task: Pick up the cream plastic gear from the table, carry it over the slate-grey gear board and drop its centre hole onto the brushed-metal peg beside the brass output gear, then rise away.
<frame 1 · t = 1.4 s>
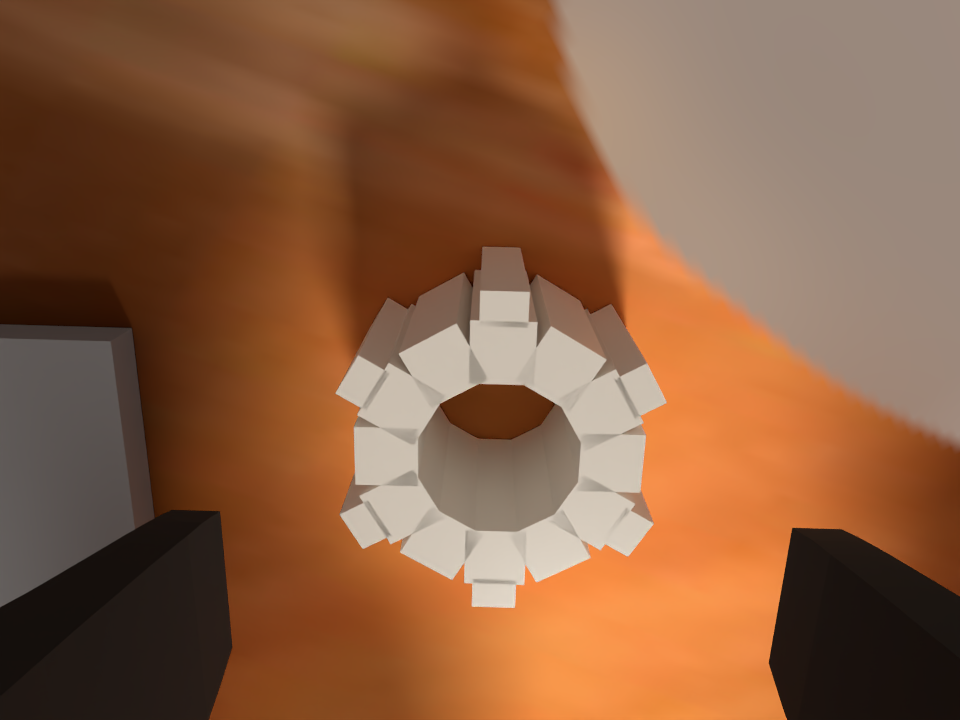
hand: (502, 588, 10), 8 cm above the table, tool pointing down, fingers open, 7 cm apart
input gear: (496, 381, 17), on the table
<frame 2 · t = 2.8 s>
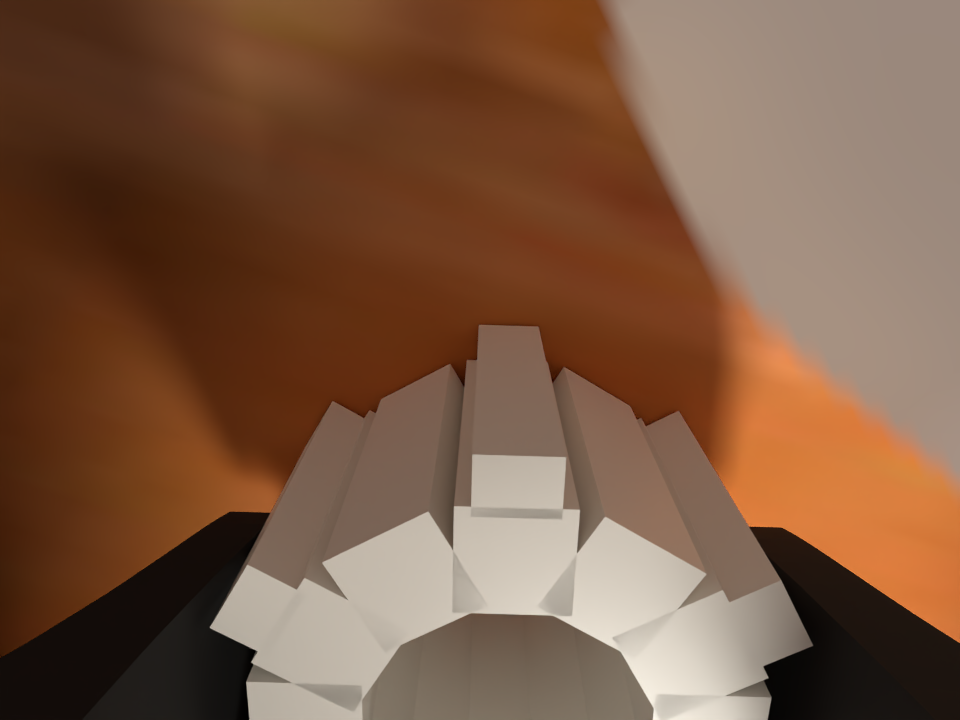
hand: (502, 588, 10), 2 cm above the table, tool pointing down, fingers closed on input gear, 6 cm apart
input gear: (500, 523, 11), on the table, touching gripper
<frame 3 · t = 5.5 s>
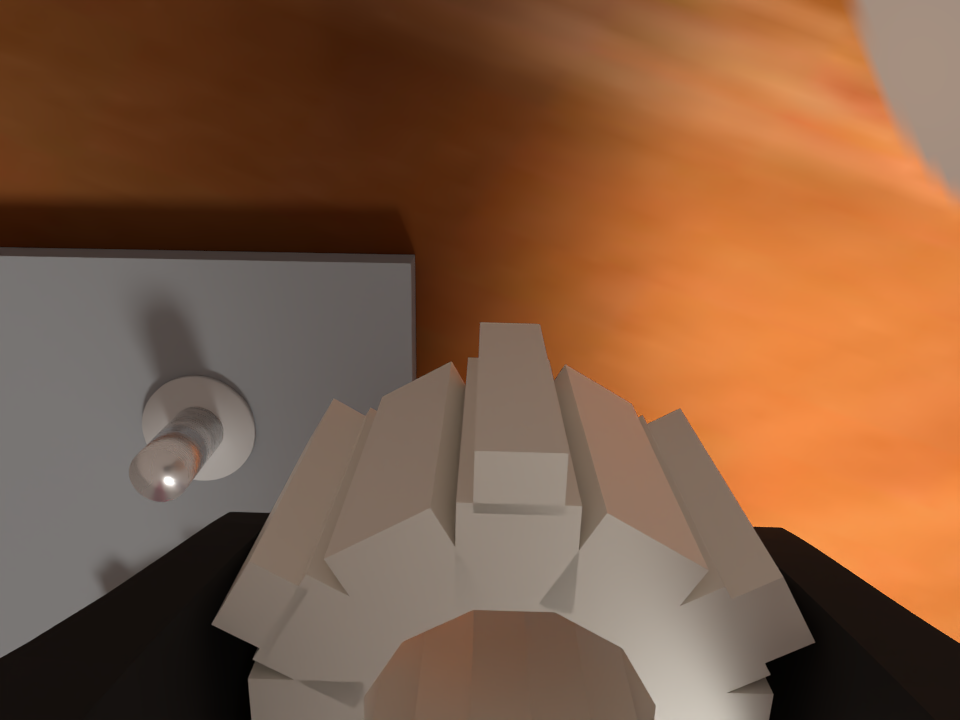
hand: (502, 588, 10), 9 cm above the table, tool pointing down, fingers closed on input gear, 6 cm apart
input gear: (502, 520, 11), point 8 cm above the table, touching gripper
gear board: (113, 532, 20), on the table
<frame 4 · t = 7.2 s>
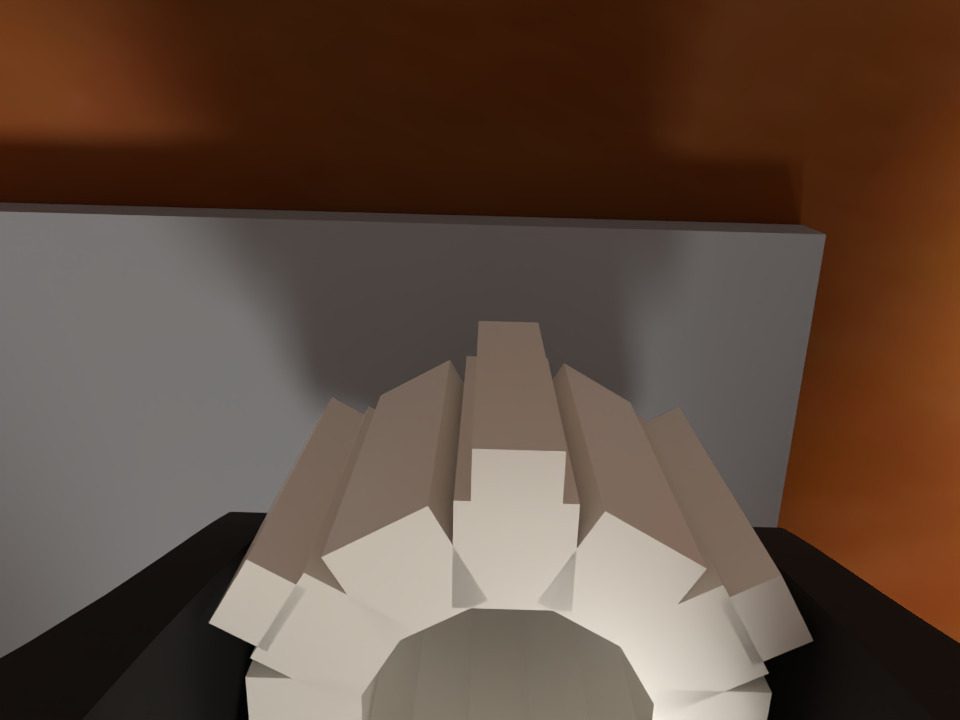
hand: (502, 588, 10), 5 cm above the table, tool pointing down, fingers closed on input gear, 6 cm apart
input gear: (500, 519, 11), point 3 cm above the table, touching gripper
gear board: (344, 588, 16), on the table
when the fingers open (4 cm above the table, at t = 8.4 s): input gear drops 2 cm, resting on gear board.
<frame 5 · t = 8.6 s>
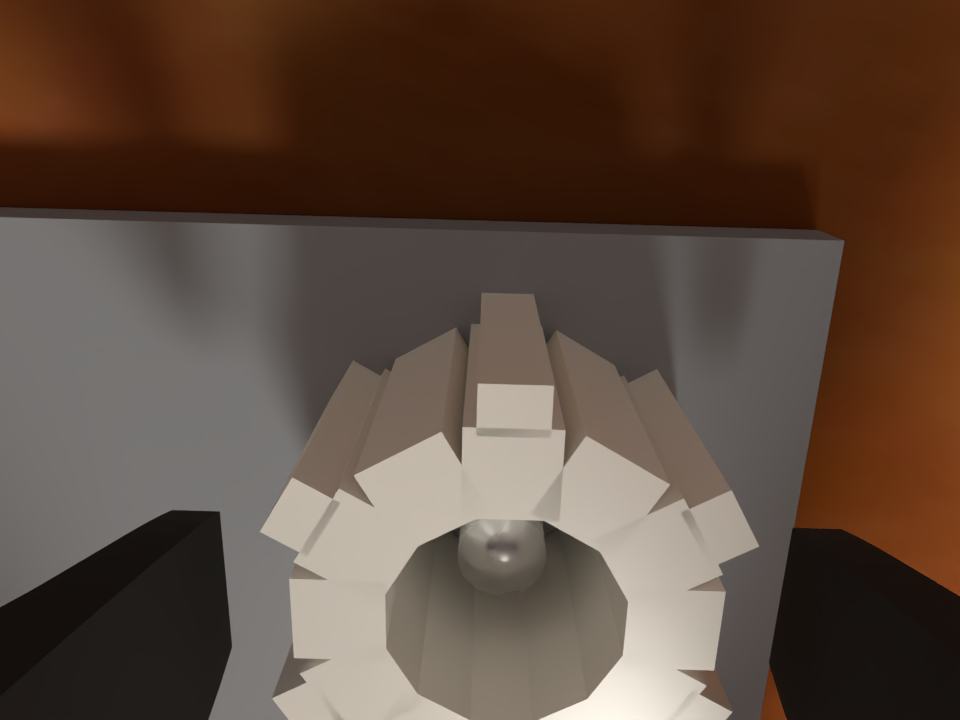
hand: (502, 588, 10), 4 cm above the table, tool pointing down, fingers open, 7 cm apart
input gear: (500, 470, 13), point 1 cm above the table, touching gear board
gear board: (337, 608, 15), on the table
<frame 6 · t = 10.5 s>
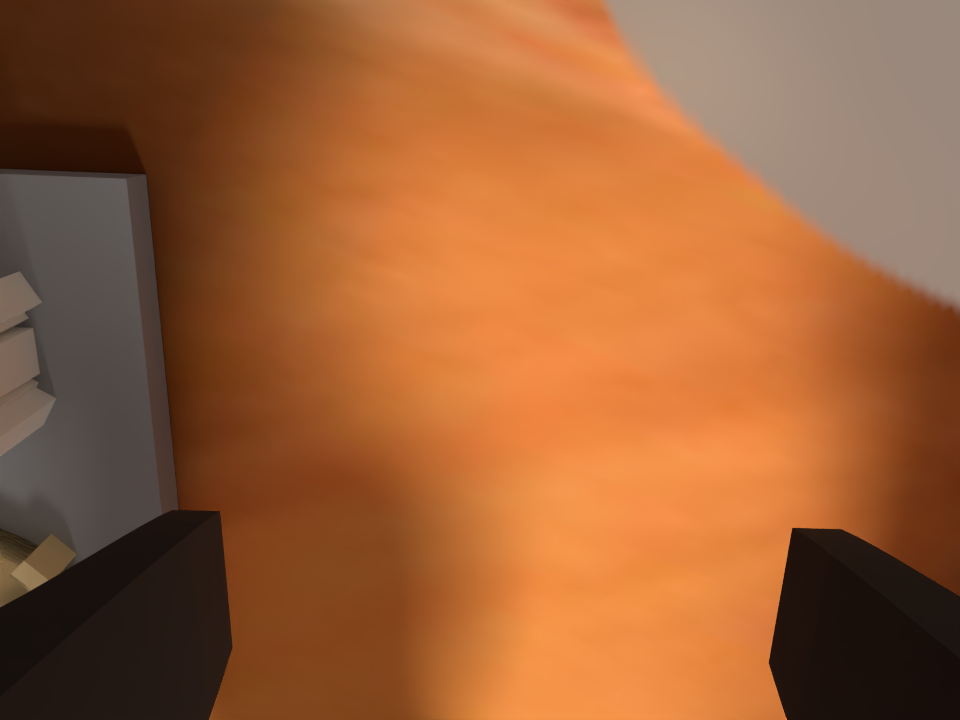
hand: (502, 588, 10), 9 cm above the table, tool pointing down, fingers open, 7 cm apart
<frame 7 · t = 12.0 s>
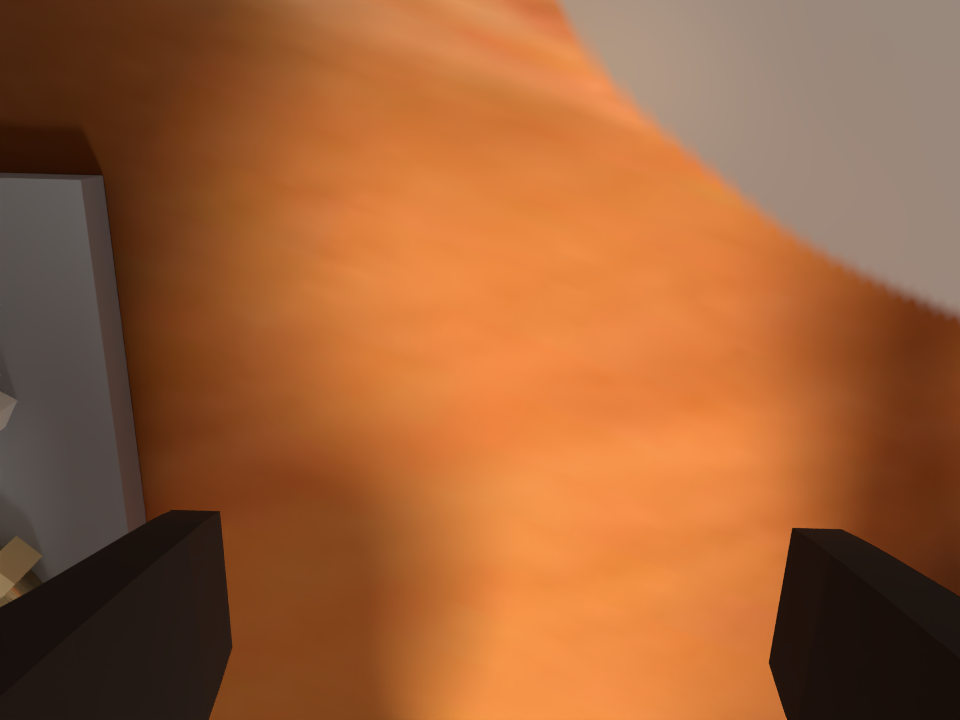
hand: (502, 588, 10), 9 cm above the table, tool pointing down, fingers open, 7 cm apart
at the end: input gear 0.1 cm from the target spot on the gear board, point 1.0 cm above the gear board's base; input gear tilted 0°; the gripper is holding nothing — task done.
